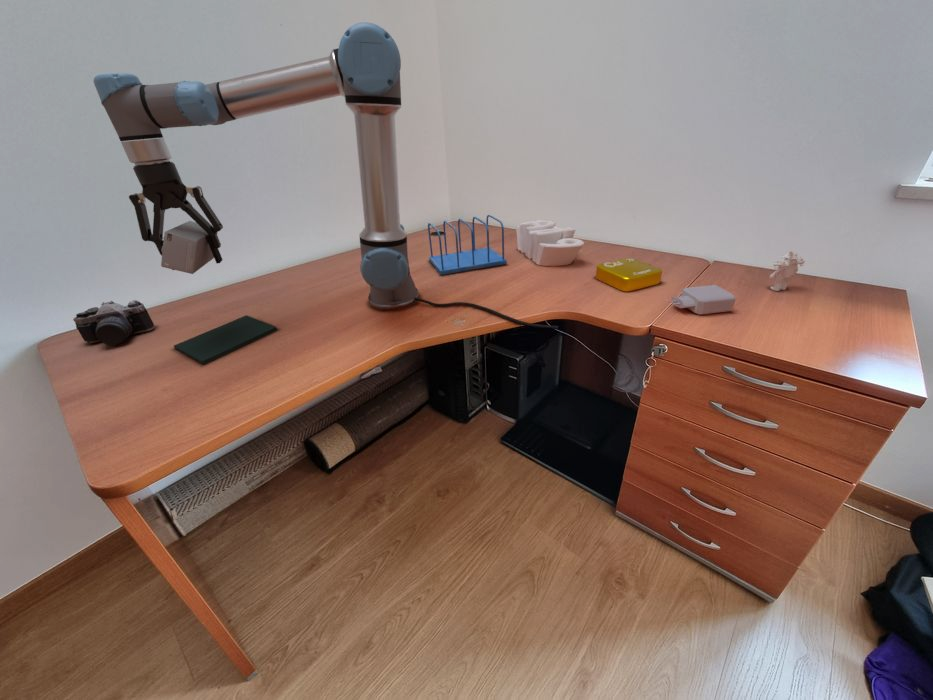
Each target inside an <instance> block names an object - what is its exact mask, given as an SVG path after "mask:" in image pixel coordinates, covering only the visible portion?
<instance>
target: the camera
mask: <svg viewBox="0 0 933 700" xmlns="http://www.w3.org/2000/svg"><path fill="white" fill-rule="evenodd" d="M72 321H73V322H74V324H75V328H76V329H77V331H78V333H79V334H80V336H81V338H82V340H83V341H84V342H85V343H88V344H94V343H100V342H102V343H103V344H105V345H108V346H115V345H120V344H122V343H123V342H125V340H127V339H128V337H130V336H133V335H137V334H141V333H147V332H150V331H152V330H154V329H155V323H154V322H153V319H152V318H151V316H150V314H149V311H148V310H147V308H146V307H145V305H144V303H143V302H141V301H139V300H137V299H132V300H130V301H129V302H128V304H127V305H123V304H120V303H118V302H114V301H113V300H110V301H107V302H104V301H102V302H101V304H100V307H97V306H94V307H90V308H88V309H86V310H84V311H82V312H78V313H76V314H75V316H74V318H73V319H72Z"/></svg>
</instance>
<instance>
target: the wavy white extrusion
mask: <svg viewBox="0 0 933 700" xmlns="http://www.w3.org/2000/svg"><path fill="white" fill-rule="evenodd" d="M515 230H516V243H517V244H516V245H517V251H520V252H521V253H522V254H525V256H526V257H527V259H532V262H534V263H535V264H536V265H538V266H543V267H559V266H560V267H561V266H568V265H570V264H572V263H573V262H574V260H575V258H576V257H577V255H578V254H579V252H580V250H581V249H582V248H583V246H584V243H585V242H584V241H583V240H582V239H579V238H574V236H575V232H576V229H575V228H574V227H570V226H566V227H564V228H562V227H559V226H557V222H556V221H548V220H547V219H539V220H538V219H537V220H531V221H525V222H520V224H518V225H517V226H515Z"/></svg>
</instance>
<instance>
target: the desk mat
mask: <svg viewBox="0 0 933 700" xmlns="http://www.w3.org/2000/svg"><path fill="white" fill-rule="evenodd" d="M276 331H278V328H277V326H275V325H273V324H270V323H268V322H264V321H263V320H260V319H257V318H255V317H252V316H249V315H243V316H241V317H239V318H236V319H234V320H231V321H229V322H227V323H225V324H221V325H219V326H217V327H215V328H212V329H210V330H208V331H205V332H202V333H200V334H197V335H195V336H193V337H191V338H189V339H186V340H184V341H181V342H179V343H177V344H174V345H173V348H174V350H176V351H178V352H180V353H182V354H184V355H186V356H187V357H188V358H191V359H192V360H194V361H196V362H197V363H199V364H201V365H206V364H209V363H211V362H213V361H215V360H217V359H219V358H222V357H224V356H226V355H228V354H230V353H232V352H234V351H236V350H238V349H241V348H243V347H245V346H246V345H249V344H251V343H253V342H255V341H258V340H259V339H261V338H264V337H265V336H267V335H270V334H272V333H274V332H276Z"/></svg>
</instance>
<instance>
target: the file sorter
mask: <svg viewBox="0 0 933 700" xmlns="http://www.w3.org/2000/svg"><path fill="white" fill-rule="evenodd" d="M489 218H491V219H493V220H495V221H497V222H498V223H499V224H500V226H501V245H502V246H501V254H500V253H498V252H497V251H495V250H494V249H493V248H492V247H490V231H489ZM475 220H476V221H478V222H480V223H482V224H483V225H484V226H485V228H486V246H487V247H483V248H477V249H476V239H475V238H476V237H475V235H476V234H475ZM461 222H462V223H463V224H464V225H466V226H467V227H469V230H470V236H471V237H470V238H471V249H470V250H463V251H462V239H461V238H462V237H461V225H460V224H461ZM442 223H443V226H442V227H443V238H444V250H445V254H443V248H442V239H441V233H440V230H439V229H438V228H437V227H436V226H435V225H434V224H432V223H431V222H428V223H427V231H428V240H429V248H430V256H429V257H428V258H429V263H431V264H432V266H433V267H434V268H435V270H436V271H437V272H438V273H439V274H440V276H443V275H448V274H449V275H450V274H455V273H461V272H466V271H467V272H468V271H473V270H479V269H485V268H491V267H497V266H502V265H507V262H508V261H507V259H506V258H505V228H504V223H503V221H502V220H500V219H499V218H497V217H495V216H493V215H491V214H487V215H486V221H484V220H482V219H480V218H479V217H477V216H473V217H472V226H471V225H470V223H468V222H466V221H465V220H463V219H462V218H458V219H457V228H458V229H456V227H455V226H454V225H452V224H451V223H450V222H448V221H447V220H443V222H442ZM446 224H447V225H448V226H449V227H450V228H451V229H453V231H454V234H455V245H456V246H455V248H456V249H455V250H456V251H455V252H451V253H448V248H447V247H448V245H447V236H446ZM430 227H432V228H433V229H434V231H436V232H437V236H438V244H439V255H438V254H437V255H433V254H434V253H433V245H432V237H431V236H432V235H431V229H430ZM457 231H458V232H457Z"/></svg>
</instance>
